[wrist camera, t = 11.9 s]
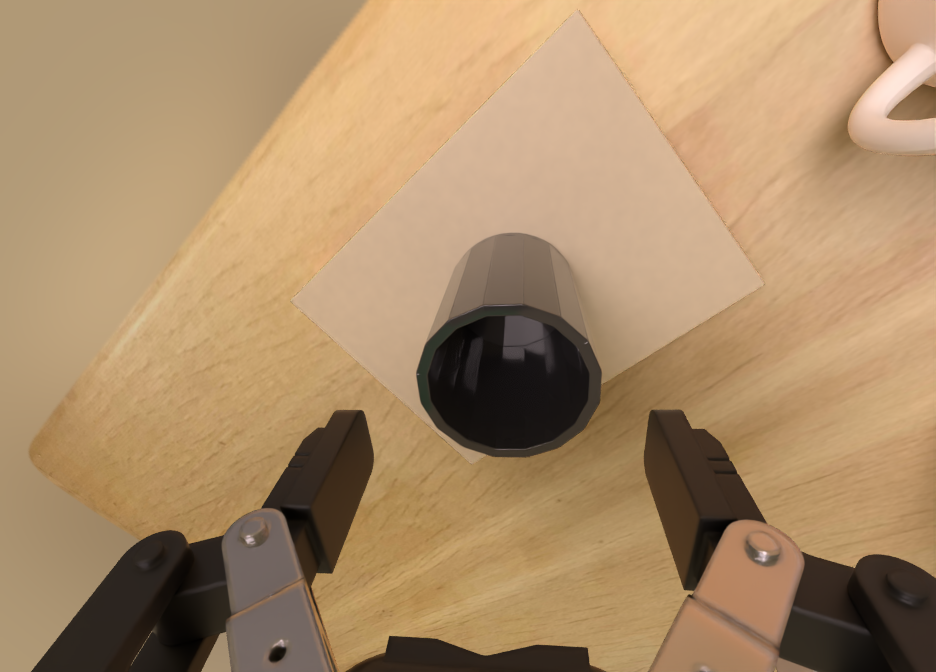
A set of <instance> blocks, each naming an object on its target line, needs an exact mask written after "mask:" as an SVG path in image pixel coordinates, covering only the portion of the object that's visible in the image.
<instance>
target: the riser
mask: <svg viewBox="0 0 936 672" xmlns="http://www.w3.org/2000/svg"><path fill="white" fill-rule="evenodd" d="M503 233H523V234H529V235H532V236H536V237H538V238H540V239H543V240H545V241H546V242H548V243H550V244H551V245H553V246H554V247H555V248H556V249H558V251H559V252H560V253H561V254H562V255H563V256H564V257H565V259H566V260H567V262H568V263H569V265H570V267H571V269H572V272H573V275H574V277H575V280H576V282H577V285H578V288H579V292H580V295H581V299H582V303H583V306H584V310H585V313H586V317H587V320H588V324H589V327H590V331H591V334H592V338H593V341H594V345H595V348H596V352H597V355H598V359H599V362H600V366H601V369H602V381H601V385H602V384H604V383H606V382H607V381H609V380H610V379H612V378H614V377H615V376H617V375H619V374H620V373H622V372H623V371H625V370H627V369H628V368H630V367H632V366H633V365H635V364H636V363H638V362H640V361H641V360H643V359H645V358H646V357H648V356H650V355H651V354H653V353H654V352H656V351H658V350H659V349H661V348H663V347H664V346H666V345H667V344H669V343H671V342H672V341H674V340H676V339H677V338H679V337H680V336H682V335H684V334H685V333H687V332H689V331H690V330H692V329H693V328H695V327H697V326H698V325H700V324H702V323H703V322H705V321H707V320H708V319H710V318H711V317H713V316H715V315H716V314H718V313H720V312H721V311H723V310H724V309H726V308H728V307H729V306H731V305H733V304H734V303H736V302H737V301H739V300H741V299H742V298H744V297H746V296H747V295H749V294H751V293H752V292H754V291H755V290H757V289H759V288H760V287H762V286H764V285H765V282H764V281H763V279H762V278H761V276H760V275H759V273H758V272H757V270H756V269H755V268H754V266H753V265H752V263H751V262H750V260H749V259H748V257H747V256H746V254H745V253H744V251H743V250H742V248H741V247H740V246H739V244H738V243H737V241H736V240H735V238H734V237H733V235H732V234H731V232H730V231H729V229H728V228H727V226H726V225H725V224H724V222H723V221H722V219H721V218H720V216H719V215H718V213H717V212H716V210H715V209H714V207H713V206H712V204H711V203H710V202H709V200H708V199H707V197H706V196H705V194H704V193H703V191H702V190H701V188H700V187H699V185H698V184H697V182H696V181H695V180H694V178H693V177H692V175H691V174H690V172H689V171H688V169H687V168H686V166H685V165H684V163H683V162H682V160H681V159H680V158H679V156H678V155H677V153H676V152H675V150H674V149H673V147H672V146H671V144H670V143H669V141H668V140H667V138H666V137H665V136H664V134H663V133H662V131H661V130H660V128H659V127H658V125H657V124H656V122H655V121H654V119H653V118H652V116H651V115H650V114H649V112H648V111H647V109H646V108H645V106H644V105H643V103H642V102H641V100H640V99H639V97H638V96H637V94H636V93H635V92H634V90H633V89H632V87H631V86H630V84H629V83H628V81H627V80H626V78H625V77H624V75H623V74H622V72H621V71H620V70H619V68H618V67H617V65H616V64H615V62H614V61H613V59H612V58H611V56H610V55H609V53H608V52H607V50H606V49H605V48H604V46H603V45H602V43H601V42H600V40H599V39H598V37H597V36H596V34H595V33H594V31H593V30H592V28H591V27H590V26H589V24H588V23H587V21H586V20H585V18H584V17H583V15H582V14H581V12H580V11H579V10H578V9H577V10H575V11H574V12H573V13H572V14H571V15H570V16H569V17H568V18H567V19H566V20H565V21H564V22H563V23H562V24H561V25H560V26H559V27H558V28H557V29H556V30H555V31H554V33H553V34H552V35H551V36H550V37H549V38H548V39H547V40H546V41H545V42H544V43H543V44H542V45H541V46H540V47H539V48H538V49H537V50H536V51H535V52H534V53H533V54H532V55H531V56H530V57H529V58H528V59H527V60H526V61H525V62H524V63H523V64H522V65H521V66H520V67H519V68H518V69H517V70H516V71H515V72H514V73H513V74H512V75H511V76H510V77H509V78H508V79H507V80H506V81H505V82H504V83H503V84H502V85H501V86H500V87H499V88H498V89H497V90H496V91H495V93H494V94H493V95H492V96H491V97H490V98H489V99H488V100H487V101H486V102H485V103H484V104H483V105H482V106H481V107H480V108H479V109H478V110H477V111H476V112H475V113H474V114H473V115H472V116H471V117H470V118H469V119H468V120H467V121H466V122H465V123H464V124H463V125H462V126H461V127H460V128H459V129H458V130H457V131H456V132H455V133H454V134H453V135H452V136H451V137H450V138H449V139H448V140H447V141H446V142H445V143H444V144H443V145H442V146H441V147H440V148H439V149H438V150H437V152H436V153H435V154H434V155H433V156H432V157H431V158H430V159H429V160H428V161H427V162H426V163H425V164H424V165H423V166H422V167H421V168H420V169H419V170H418V171H417V172H416V173H415V174H414V175H413V176H412V177H411V178H410V179H409V180H408V181H407V182H406V183H405V184H404V185H403V186H402V187H401V188H400V189H399V190H398V191H397V192H396V193H395V194H394V195H393V196H392V197H391V198H390V199H389V200H388V201H387V202H386V203H385V204H384V205H383V206H382V207H381V208H380V209H379V210H378V212H377V213H376V214H375V215H374V216H373V217H372V218H371V219H370V220H369V221H368V222H367V223H366V224H365V225H364V226H363V227H362V228H361V229H360V230H359V231H358V232H357V233H356V234H355V235H354V236H353V237H352V238H351V239H350V240H349V241H348V242H347V243H346V244H345V245H344V246H343V247H342V248H341V249H340V250H339V251H338V252H337V253H336V254H335V255H334V256H333V257H332V258H331V259H330V260H329V261H328V262H327V263H326V264H325V265H324V266H323V267H322V268H321V269H320V271H319V272H318V273H317V274H316V275H315V276H314V277H313V278H312V279H311V280H310V281H309V282H308V283H307V284H306V285H305V286H304V287H303V288H302V289H301V290H300V291H299V292H298V293H297V294H296V295H295V296H294V297H293V298H292V299H291V300H290V302H291V303H292V304H294V305H295V306H296V307H297V308H298V309H299V310H300V311H301V312H302V313H304V314H305V315H306V316H307V317H308V318H309V319H310V320H311V321H312V322H314V323H315V324H316V325H317V326H318V327H319V328H320V329H321V330H322V331H324V332H325V333H326V334H327V335H328V336H329V337H330V338H331V339H332V340H334V341H335V342H336V343H337V344H338V345H339V346H340V347H341V348H342V349H344V350H345V351H346V352H347V353H348V354H349V355H350V356H351V357H352V358H354V359H355V360H356V361H357V362H358V363H359V364H360V365H361V366H362V367H364V368H365V369H366V370H367V371H368V372H369V373H370V374H371V375H372V376H374V377H375V378H376V379H377V380H378V381H379V382H380V383H381V384H382V385H384V386H385V387H386V388H387V389H388V390H389V391H390V392H391V393H393V394H394V395H395V396H396V397H397V398H398V399H399V400H400V401H401V402H403V403H404V404H405V405H406V406H407V407H408V408H409V409H410V410H411V411H413V412H414V413H415V414H416V415H417V416H418V417H419V418H420V419H421V420H423V421H424V422H425V423H426V424H427V425H428V426H429V427H430V428H431V429H433V430H434V431H435V432H436V433H437V434H438V435H439V436H440V437H441V438H443V439H444V440H445V441H446V442H447V443H448V444H449V445H450V446H451V447H453V448H454V449H455V450H456V451H457V452H458V453H459V454H460V455H461V456H463V457H464V458H465V459H466V460H467V461H468V462H469V463H470V464H474V463H475V462H477V461H478V460H480V459H482V458H483V457H485V456H487V455H486V454H483V453H480V452H477V451H473V450H470V449H467V448H464V447H462V446H461V445H459V444H458V443H456V442H455V441H454V440H452V439H451V438H450V437H448V436H447V435H445V434H444V433H443V432H441V431H440V430H439V429H438V428H437V427H436V426H435V424H434V423H433V421H432V420H431V418H430V417H429V415H428V414H427V412H426V411H425V409H424V408H423V406H422V405H421V402H420V398H419V391H418V385H417V378H416V370H417V367H418V364H419V361H420V358H421V355H422V352H423V349H424V345H425V343H426V340H427V338H428V335H429V332H430V330H431V327H432V325H433V322H434V320H435V317H436V315H437V312H438V309H439V307H440V304H441V302H442V299H443V297H444V294H445V291H446V289H447V286H448V284H449V281H450V279H451V276H452V273H453V271H454V268H455V267H456V265H457V264H458V262H459V261H460V259H461V258H462V257H463V255H464V254H465V253H466V252H467V251H468V250H469V249H470V248H471V247H473V246H474V245H475V244H477V243H478V242H480V241H482V240H484V239H486V238H488V237H491V236H494V235H498V234H503Z"/></svg>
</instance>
